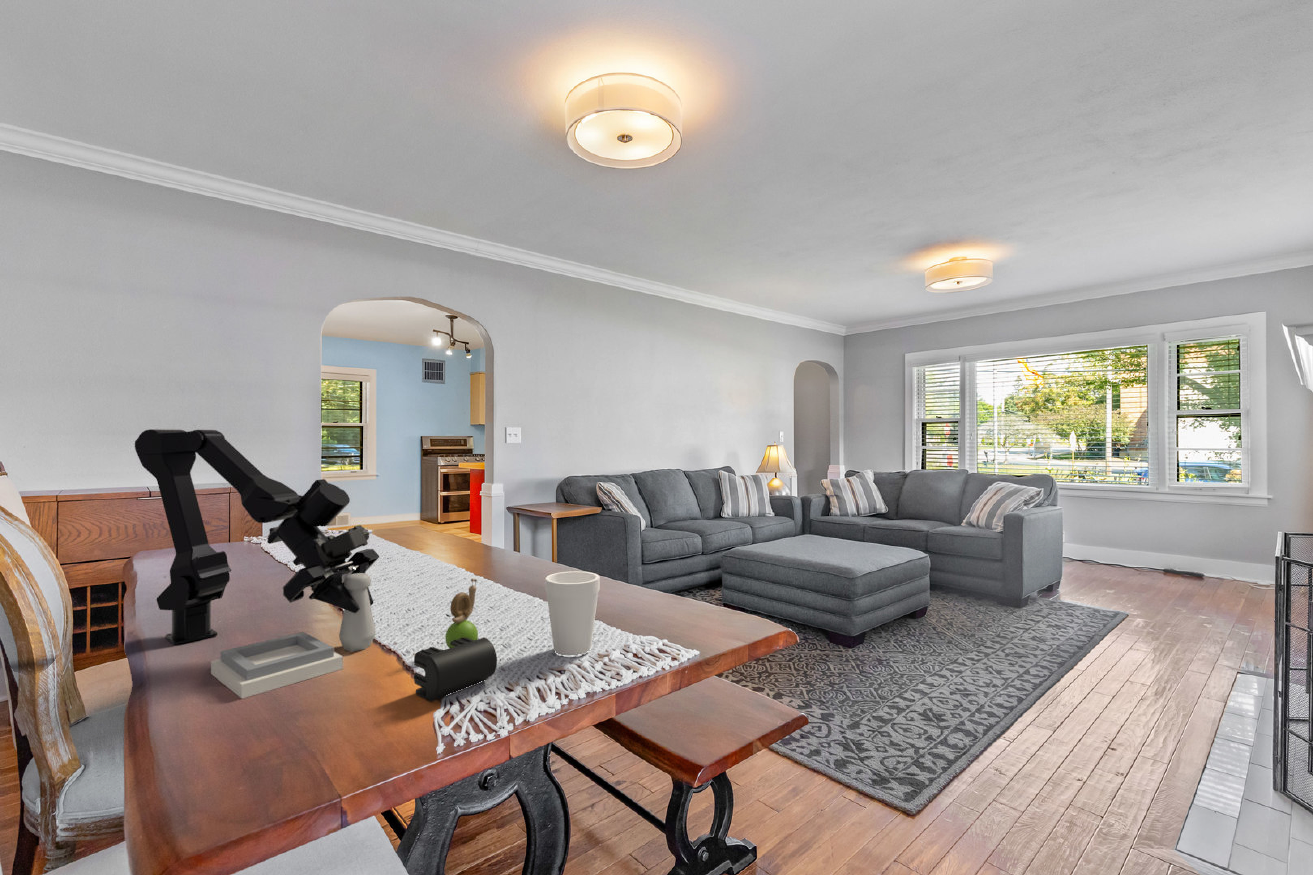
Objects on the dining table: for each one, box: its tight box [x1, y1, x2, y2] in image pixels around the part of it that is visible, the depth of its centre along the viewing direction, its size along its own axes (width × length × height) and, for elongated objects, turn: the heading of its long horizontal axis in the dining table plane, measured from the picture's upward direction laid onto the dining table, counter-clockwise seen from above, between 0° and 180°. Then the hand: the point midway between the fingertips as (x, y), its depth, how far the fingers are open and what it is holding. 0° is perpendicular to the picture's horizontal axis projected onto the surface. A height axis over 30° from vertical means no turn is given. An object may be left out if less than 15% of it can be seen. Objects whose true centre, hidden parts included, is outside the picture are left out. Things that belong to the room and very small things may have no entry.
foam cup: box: [544, 570, 601, 655], centre depth 104 cm, size 10×9×13 cm
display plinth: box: [210, 631, 344, 699], centre depth 95 cm, size 14×14×4 cm
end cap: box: [413, 637, 498, 703], centre depth 88 cm, size 10×7×7 cm
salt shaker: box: [338, 572, 377, 652], centre depth 105 cm, size 6×6×13 cm
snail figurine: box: [444, 578, 479, 649], centre depth 104 cm, size 5×6×12 cm
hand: (364, 607), depth 105 cm, fingers closed on salt shaker, 3 cm apart
